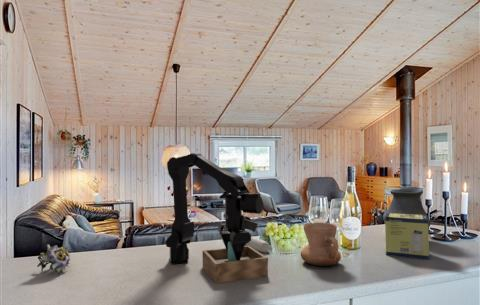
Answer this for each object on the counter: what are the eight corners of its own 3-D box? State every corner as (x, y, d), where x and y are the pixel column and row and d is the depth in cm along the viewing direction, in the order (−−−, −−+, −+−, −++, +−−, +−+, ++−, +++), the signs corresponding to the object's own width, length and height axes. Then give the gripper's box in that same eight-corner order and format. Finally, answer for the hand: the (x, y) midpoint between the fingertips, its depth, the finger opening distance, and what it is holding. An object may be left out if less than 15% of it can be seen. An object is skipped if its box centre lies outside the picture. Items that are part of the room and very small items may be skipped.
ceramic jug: (292, 258, 131) (291, 222, 131) (324, 255, 136) (324, 219, 136) (317, 273, 114) (317, 231, 114) (353, 268, 119) (352, 228, 119)
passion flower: (62, 289, 116) (59, 266, 110) (30, 284, 116) (25, 261, 109) (77, 262, 126) (75, 240, 119) (47, 257, 125) (43, 235, 118)
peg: (230, 273, 114) (229, 244, 115) (226, 270, 118) (226, 241, 118) (241, 272, 116) (240, 243, 116) (237, 268, 120) (237, 240, 120)
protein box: (386, 249, 145) (385, 212, 145) (428, 253, 138) (427, 214, 138) (385, 255, 135) (384, 216, 135) (429, 260, 128) (429, 219, 129)
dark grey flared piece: (375, 240, 160) (374, 187, 160) (394, 233, 175) (393, 184, 175) (422, 248, 145) (420, 190, 145) (438, 239, 160) (437, 187, 160)
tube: (273, 242, 141) (240, 231, 162) (263, 240, 139) (231, 229, 160) (269, 255, 140) (237, 242, 161) (260, 253, 138) (228, 240, 159)
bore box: (215, 283, 106) (215, 264, 106) (202, 267, 122) (202, 250, 122) (267, 276, 112) (267, 257, 112) (249, 261, 128) (248, 245, 128)
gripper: (265, 214, 111) (266, 262, 111) (245, 206, 129) (245, 248, 129) (233, 216, 107) (234, 265, 107) (217, 208, 125) (217, 250, 125)
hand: (233, 256), depth 117 cm, fingers open, 9 cm apart
